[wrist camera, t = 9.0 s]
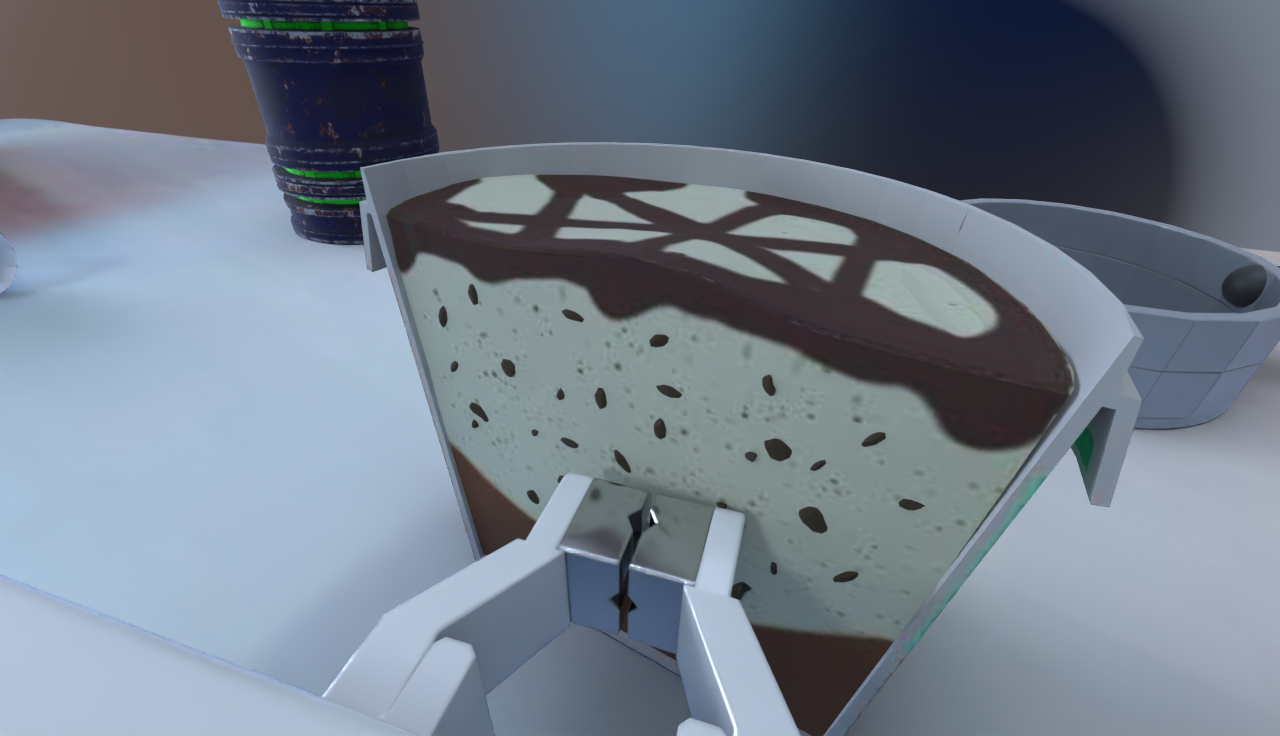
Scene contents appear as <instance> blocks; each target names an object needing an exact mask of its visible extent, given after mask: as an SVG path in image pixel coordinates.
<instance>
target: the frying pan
mask: <svg viewBox="0 0 1280 736" xmlns="http://www.w3.org/2000/svg"><path fill="white" fill-rule="evenodd" d="M17 269H18V265H17V261H16V257H15V252H14V249H13V248H12V246H11V245H10V244H9V243H8V241H7V240H6V239H5V238H4V236H3V235H2V234H1V233H0V293H2V292H3V291H4V290H5V289H7V288H8V287H9V286H10V285H11V284H13V281H14V278H15V275H16V272H17Z"/></svg>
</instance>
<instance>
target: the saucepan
mask: <svg viewBox="0 0 1280 736" xmlns="http://www.w3.org/2000/svg"><path fill="white" fill-rule="evenodd" d="M961 202H963V203H966V204H969V205H972V206H974V207H977V208H979V209H981V210H983V211H986V212H988V213H990V214H993V215H995V216H997V217H999V218H1002V219H1004V220H1006V221H1008V222H1011V223H1013V224H1015V225H1017V226H1019V227H1021V228H1022V229H1024V230H1026V231H1028V232H1030V233H1032V234H1033V235H1035V236H1037V237H1039V238H1041V239H1042V240H1044V241H1046V242H1048V243H1050V244H1052V245H1053V246H1055V247H1056V248H1058V249H1059V250H1061V251H1062V252H1063V253H1065V254H1066V255H1068V256H1069V257H1070V258H1072V259H1073V260H1075V261H1076V262H1078V263H1079V264H1080V265H1082V266H1083V267H1085V268H1086V269H1087V270H1089V271H1090V272H1091V273H1092V274H1093V275H1094V276H1095V277H1096V278H1097V279H1098V280H1100V281H1101V282H1102V283H1103V284H1104V285H1105V286H1106V287H1107V288H1108V289H1109V290H1110V291H1111V292H1112V293H1113V294H1114V295H1115V296H1116V297H1117V298H1118V299H1119V300H1120V301H1121V302H1122V303H1123V305H1124V307H1125V308H1126V310H1127V312H1128V313H1129V315H1130V316H1131V318H1132V320H1133V321H1134V323H1135V325H1136V326H1137V328H1138V329H1139V331H1140V333H1141V334H1142V336H1143V338H1144V340H1143V341H1142V343H1141V345H1140V347H1139V349H1138V351H1137V353H1136V355H1135V357H1134V359H1133V361H1132V362H1131V364H1130V366H1129V368H1128V370H1127V372H1128V374H1129V376H1130V378H1131V379H1132V381H1133V383H1134V385H1135V387H1136V389H1137V391H1138V393H1139V395H1140V397H1141V399H1142V402H1141V406H1140V409H1139V412H1138V415H1137V419H1136V422H1135V425H1134V428H1143V429H1170V428H1180V427H1189V426H1193V425H1197V424H1202V423H1205V422H1207V421H1210V420H1212V419H1214V418H1217V417H1218V416H1220V415H1221V414H1222V413H1223V412H1225V411H1226V410H1227V409H1228V407H1229V406H1230V405H1231V404H1232V402H1233V401H1234V400H1235V398H1236V397H1237V396H1238V394H1239V393H1240V392H1241V390H1242V389H1243V388H1244V386H1245V385H1246V384H1247V383H1248V381H1249V380H1250V379H1251V377H1252V376H1253V375H1254V373H1255V372H1256V371H1257V369H1258V368H1259V367H1260V365H1261V364H1262V363H1263V361H1264V360H1265V359H1266V357H1267V356H1268V355H1269V353H1270V352H1271V351H1272V350H1273V348H1274V347H1275V346H1276V344H1277V343H1278V342H1279V340H1280V268H1279V267H1277V266H1275V265H1274V264H1272V263H1270V262H1269V261H1267V260H1265V259H1264V258H1262V257H1260V256H1257V255H1255V254H1253V253H1250V252H1248V251H1245V250H1243V249H1240V248H1238V247H1235V246H1233V245H1230V244H1228V243H1226V242H1223V241H1221V240H1218V239H1215V238H1212V237H1209V236H1205V235H1202V234H1199V233H1195V232H1192V231H1189V230H1186V229H1182V228H1179V227H1176V226H1172V225H1169V224H1168V225H1167V224H1165V223H1160V222H1156V221H1152V220H1148V219H1143V218H1139V217H1134V216H1130V215H1126V214H1121V213H1115V212H1112V211H1106V210H1099V209H1094V208H1088V207H1082V206H1075V205H1069V204H1067V205H1066V204H1062V203H1052V202H1041V201H1031V200H1020V199H972V200H961ZM1254 264H1258V265H1262V266H1263V267H1264V269H1265V271H1266V275H1267V280H1266V285H1265V288H1264V290H1263V292H1262V294H1261V295H1260V296H1259V298H1258V299H1257V300H1256V301H1255V302H1254V303H1252V304H1251V305H1249V306H1247V307H1243V308H1239V307H1236V306H1233V305H1231V304H1230V303H1228V302H1227V301H1226V300H1225V298H1224V297H1223V295H1222V291H1221V287H1222V283H1223V281H1224V279H1225V278H1226V277H1227V276H1228V275H1229V274H1230V273H1231V272H1233V271H1234V270H1236V269H1238V268H1240V267H1243V266H1247V265H1254Z"/></svg>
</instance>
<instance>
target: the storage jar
mask: <svg viewBox="0 0 1280 736" xmlns="http://www.w3.org/2000/svg"><path fill="white" fill-rule="evenodd" d="M416 3H417V0H218V4H219V7H220V10H221V12H222V16H223V17H224V18H233V19H240V22H241V25H238V26H237V25H236V26H230V27H228V28H229V31H230V34H231V38H232V41H231V43H232V44H234V47H235V50H236V53H237V56H238V57H239V58H240V59H241V60H242V61H243V62H245V64H246V68H247V71H248V74H249V77H250V80H251V83H252V87H253V90H254V93H255V96H256V99H257V102H258V105H259V108H260V112H261V115H262V118H263V121H264V124H265V127H266V130H267V134H266V137H265V143H266V146H267V149H268V153H269V155H270V158H271V161H272V162H273V163H274V164H275V165H274V166H273V169H272V170H273V173H274V176H275V179H276V182H277V186H278V188H279V190H281V191H282V192H284V200H285V203H286V205H287V206H288V207H289V208H290V210H291V213H292V216H291V222H292V225H293V228H294V230H295V232H296V233H297V234H298V235H300V236H302V237H304V238H306V239H310V240H313V241H318V242H324V243H335V244H363V243H364V239H363V231H362V222H361V213H360V205H359V201H363V200H367V199H366V194H365V189H364V184H363V179H362V175H361V170H360V168H361V167H366V166H371V165H376V164H381V163H386V162H391V161H396V160H401V159H407V158H413V157H419V156H425V155H431V154H437V153H438V152H439V143H438V136H437V130H436V128H435V127H434V126H433V125H432V123H431V118H430V111H429V106H428V100H427V94H426V88H425V82H424V76H423V70H422V64H421V60H422V58H423V55H424V51H423V45H422V44H423V43H424V42H423V41H422V39H421V33H420V29H419V28H416V27H408V22H407V21H416V20H420V17H419V10H418V5H417V4H416Z"/></svg>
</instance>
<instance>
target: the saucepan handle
mask: <svg viewBox="0 0 1280 736" xmlns="http://www.w3.org/2000/svg"><path fill="white" fill-rule="evenodd" d="M1277 267H1279V268H1280V266H1277ZM1266 280H1267V275H1266V271H1265V269H1264V267H1263V266H1262V265H1258V264H1254V265H1247V266H1243V267H1240V268H1238V269H1236V270H1234V271H1233V272H1231V273H1230V274H1229V275H1228V276H1227V277H1226V278H1225V279H1224V281H1223V283H1222V287H1221V291H1222V295H1223V297H1224V298H1225V300H1226V301H1227V302H1228V303H1230V304H1231V305H1233V306H1236V307H1239V308H1243V307H1247V306H1249V305H1251V304H1252V303H1254V302H1255V301H1256V300H1257V299H1258V298H1259V296H1260V295H1261V294H1262V292H1263V290H1264V288H1265V285H1266Z"/></svg>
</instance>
